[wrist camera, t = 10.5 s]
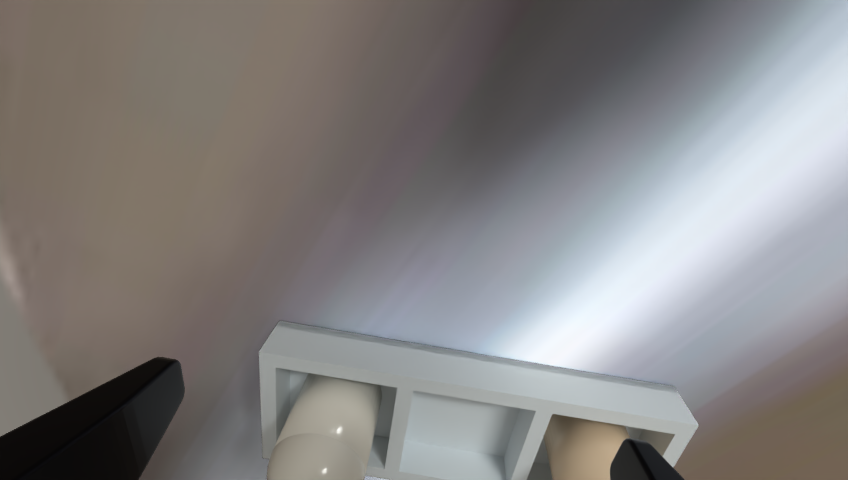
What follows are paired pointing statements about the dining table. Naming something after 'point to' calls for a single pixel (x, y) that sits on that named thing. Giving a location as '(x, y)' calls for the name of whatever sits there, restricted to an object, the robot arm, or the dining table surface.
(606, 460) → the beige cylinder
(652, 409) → the divided compartment tray
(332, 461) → the white capsule shape
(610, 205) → the dining table surface
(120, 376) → the robot arm
